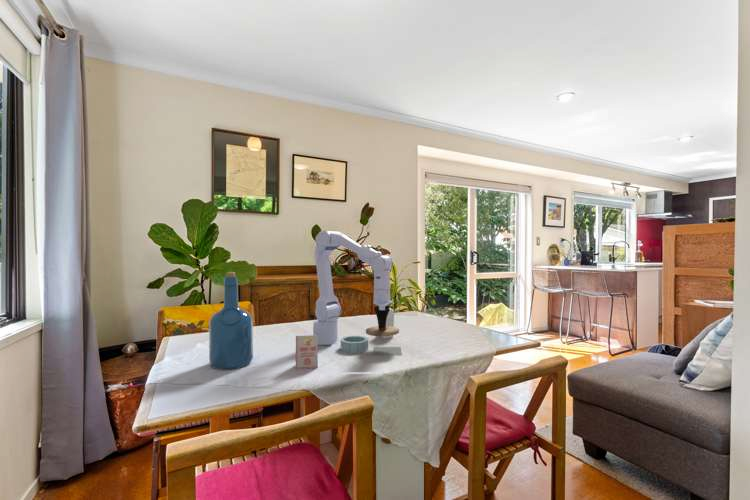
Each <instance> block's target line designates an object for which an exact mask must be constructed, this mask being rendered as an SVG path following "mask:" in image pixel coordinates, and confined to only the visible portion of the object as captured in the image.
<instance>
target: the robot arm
mask: <svg viewBox="0 0 750 500" xmlns="http://www.w3.org/2000/svg"><path fill="white" fill-rule="evenodd" d="M340 247H343V248H346V250H350V251H351V252H352V253H355V254H356V256H357V259H358V260H360V261H362V262H363V263H365V264H366V265H368V266H370V267H371V269H372V271H373V275H374V276H373V278H374V279H373V303H372V304H374V306H373V310H374V312H375V316H376V318H377V326H379V328H385V325H386V319H387V315H388V313H389V311H390V309H389V308H391V307H390V306H391V305H390V304H394V300H391V269H392V268H393V267H394V266H393V265H394V262H393V259H392V257H390V255H388V254H383V253H382V252H381V251H377V250H375V249H373V247H372V245H370V244H367V245H366V244H364V245H361V244H359V243H358V242H356V241H355V240H354V239H352V238H350V237H348V236H347V235H346V234H345V233H343V232H340V231H338V230H335V231H334V230H333V231H332V230H321V231H319V232H318V234H317V235H316V236H315V249H314V258H315V268H316V274H317V281H318V283H317V284H318V289H319V290H318V291H319V297H318V299H316V301H315V310H314V315H315V317H316V319H315V320H314V321H313V327H312V335H317V341H318V346H332V345H338V344H339V341H340V338H338V336H339V334H338V333H339V331H338V327H339V326H338V321H339V317H340V315H341V314H342V307H341V304H340V302H339V298H338V297H337V296H336V295H335V294H334V286H333V277H332V268H331V260H330V255H331V254H332V253H333V251H335V250H337V249H338V248H340Z"/></svg>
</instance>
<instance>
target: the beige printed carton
mask: <svg viewBox="0 0 750 500" xmlns="http://www.w3.org/2000/svg"><path fill="white" fill-rule="evenodd" d="M318 346H319V345H318V341H317V335H313V334H311V335H309V334H308V335H307V334H306V335H295V370H303V369H318V367H319V366H318V365H319V364H318V361H319V360H318V359H319V357H318V352H319V351H318V348H319V347H318Z"/></svg>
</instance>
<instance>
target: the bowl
mask: <svg viewBox="0 0 750 500" xmlns="http://www.w3.org/2000/svg"><path fill="white" fill-rule="evenodd" d="M340 351H342V352H344V353H345V352H346V353H353V354H355V353H356V354H357V353H363V352H366V351H369V338H368V337H366V336H363V335H347V336H343V337H340Z"/></svg>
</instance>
